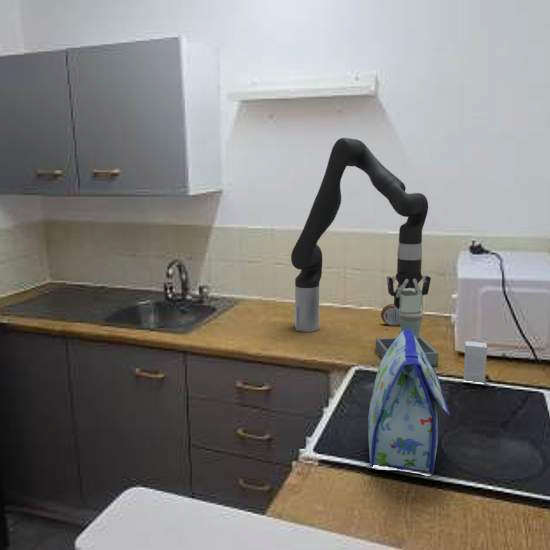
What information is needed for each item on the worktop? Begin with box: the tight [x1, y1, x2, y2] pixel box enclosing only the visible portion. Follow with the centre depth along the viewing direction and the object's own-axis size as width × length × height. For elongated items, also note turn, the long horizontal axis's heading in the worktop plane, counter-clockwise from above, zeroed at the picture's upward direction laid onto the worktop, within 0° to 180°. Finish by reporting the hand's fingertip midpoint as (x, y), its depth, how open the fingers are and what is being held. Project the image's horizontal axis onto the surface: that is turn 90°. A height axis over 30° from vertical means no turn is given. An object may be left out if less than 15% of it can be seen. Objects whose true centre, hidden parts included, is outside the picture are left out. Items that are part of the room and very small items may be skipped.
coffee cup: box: [399, 308, 424, 337], centre depth 199 cm, size 8×8×12 cm
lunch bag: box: [367, 329, 451, 475], centre depth 125 cm, size 22×17×26 cm
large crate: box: [375, 336, 439, 368], centre depth 183 cm, size 16×16×4 cm
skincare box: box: [463, 340, 488, 384], centre depth 163 cm, size 6×4×12 cm
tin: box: [380, 303, 401, 327], centre depth 217 cm, size 15×3×8 cm, turn 84°
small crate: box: [395, 289, 422, 315], centre depth 179 cm, size 6×8×6 cm
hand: (407, 307), depth 180 cm, fingers closed on small crate, 6 cm apart
